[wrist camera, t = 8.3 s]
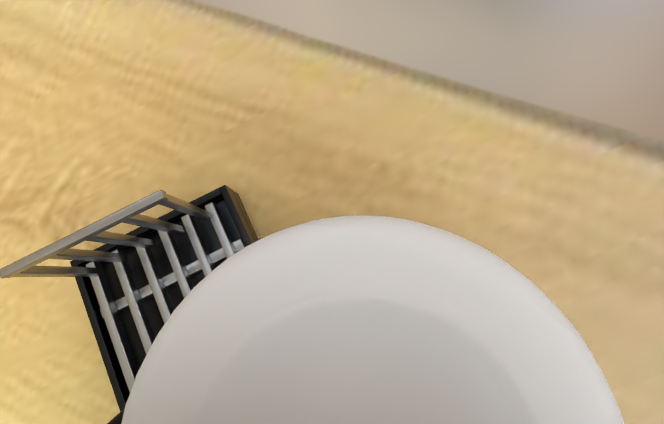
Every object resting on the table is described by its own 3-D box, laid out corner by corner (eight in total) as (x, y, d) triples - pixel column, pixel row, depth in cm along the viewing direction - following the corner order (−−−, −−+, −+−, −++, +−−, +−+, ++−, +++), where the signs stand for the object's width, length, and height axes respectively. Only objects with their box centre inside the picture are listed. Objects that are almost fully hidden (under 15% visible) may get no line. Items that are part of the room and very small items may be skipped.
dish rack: (201, 562, 20) (101, 744, 12) (96, 262, 23) (-36, 256, 16) (366, 479, 20) (369, 608, 12) (237, 192, 23) (176, 151, 16)
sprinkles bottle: (288, 316, 16) (-18, 477, 3) (358, 242, 17) (352, 105, 3) (363, 395, 15) (379, 1067, 2) (436, 316, 16) (814, 502, 3)
